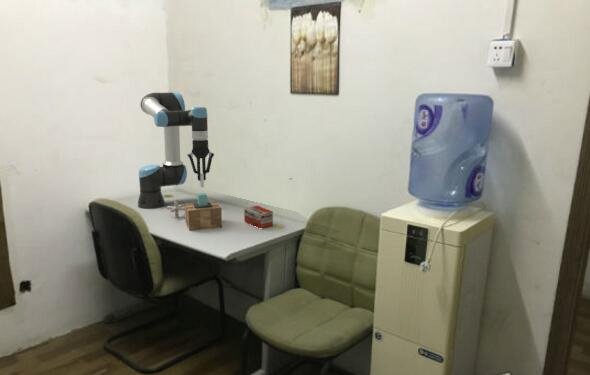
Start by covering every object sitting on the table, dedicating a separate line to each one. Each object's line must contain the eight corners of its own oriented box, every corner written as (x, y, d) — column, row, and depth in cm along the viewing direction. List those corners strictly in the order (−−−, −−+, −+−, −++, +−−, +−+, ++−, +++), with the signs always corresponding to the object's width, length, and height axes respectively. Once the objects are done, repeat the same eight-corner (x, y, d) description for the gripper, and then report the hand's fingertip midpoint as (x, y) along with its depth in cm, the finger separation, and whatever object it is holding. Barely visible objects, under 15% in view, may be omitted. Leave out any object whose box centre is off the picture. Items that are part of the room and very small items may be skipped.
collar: (193, 204, 230) (193, 203, 230) (209, 203, 233) (209, 201, 233) (195, 208, 223) (195, 207, 222) (212, 207, 225) (212, 205, 225)
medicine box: (244, 222, 235) (243, 207, 234) (257, 219, 240) (256, 205, 239) (260, 229, 224) (260, 214, 222) (273, 226, 229) (273, 211, 227)
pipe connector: (181, 220, 237) (180, 202, 235) (163, 219, 239) (162, 201, 236) (189, 215, 246) (188, 197, 244) (172, 214, 248) (171, 196, 246)
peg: (198, 209, 229) (197, 193, 227) (206, 208, 231) (205, 193, 229) (199, 211, 226) (198, 195, 224) (207, 210, 227) (206, 194, 225)
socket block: (185, 222, 234) (184, 203, 231) (216, 219, 239) (215, 201, 237) (189, 230, 221) (188, 210, 219) (221, 227, 226) (221, 208, 224)
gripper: (187, 140, 215) (189, 189, 220) (215, 139, 219) (216, 187, 224) (185, 139, 221) (187, 186, 227) (212, 138, 226) (213, 184, 231)
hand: (202, 186), depth 225 cm, fingers closed
